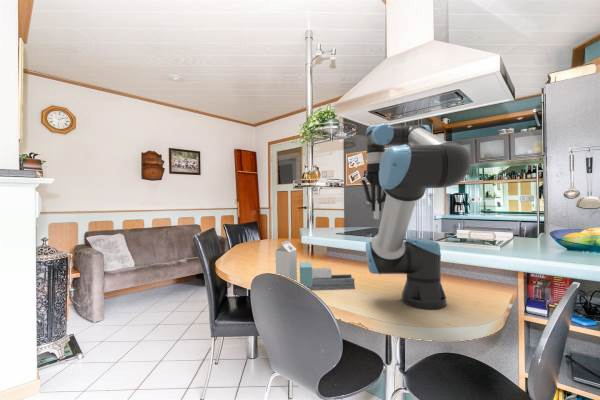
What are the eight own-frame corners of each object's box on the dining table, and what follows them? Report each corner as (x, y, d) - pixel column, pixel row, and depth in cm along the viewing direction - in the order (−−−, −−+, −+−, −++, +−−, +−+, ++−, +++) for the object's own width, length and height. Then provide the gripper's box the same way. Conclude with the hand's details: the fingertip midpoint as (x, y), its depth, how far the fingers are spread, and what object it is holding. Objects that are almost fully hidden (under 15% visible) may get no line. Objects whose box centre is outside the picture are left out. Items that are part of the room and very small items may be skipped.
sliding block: (331, 284, 128) (331, 269, 128) (303, 284, 128) (303, 270, 128) (330, 281, 132) (330, 267, 132) (303, 281, 132) (303, 267, 132)
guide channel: (354, 288, 126) (354, 279, 126) (300, 290, 126) (300, 280, 125) (350, 282, 135) (350, 273, 135) (300, 283, 135) (299, 275, 134)
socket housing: (312, 286, 126) (312, 267, 125) (300, 286, 125) (300, 267, 125) (311, 280, 135) (310, 262, 134) (299, 280, 134) (299, 262, 134)
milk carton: (276, 283, 135) (275, 242, 135) (284, 279, 142) (283, 239, 141) (289, 285, 132) (288, 243, 132) (297, 281, 138) (296, 240, 138)
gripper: (388, 164, 131) (388, 217, 131) (358, 164, 130) (359, 218, 131) (394, 162, 123) (394, 219, 124) (362, 162, 123) (363, 219, 123)
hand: (376, 218), depth 127 cm, fingers closed
